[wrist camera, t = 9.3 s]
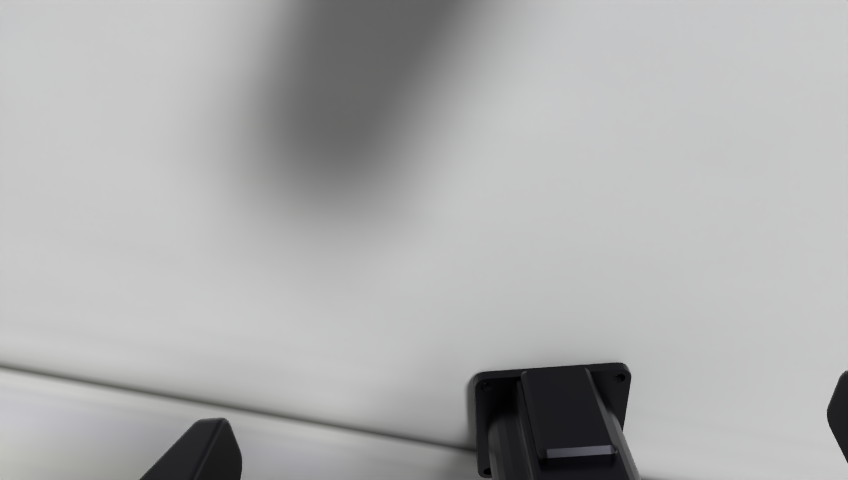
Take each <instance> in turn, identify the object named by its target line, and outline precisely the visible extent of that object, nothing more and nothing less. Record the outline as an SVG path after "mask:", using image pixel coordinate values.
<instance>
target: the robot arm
mask: <svg viewBox="0 0 848 480" xmlns="http://www.w3.org/2000/svg"><path fill="white" fill-rule="evenodd" d="M617 374H620V375H617ZM615 375H617V376H615ZM484 383H490V384H487V385H484ZM630 383H631V373H630V371H629V369H628V367H627V366H626V365H625V364H623V363H605V364H590V365H576V366H561V367H547V368H532V369H518V370H503V371H489V372H482V373H480V374H478V375H477V376H476V377H475V379H474V392H475V418H476V444H477V466H478V473H479V475H480V476H481V477H484V478H492V480H641V478H640V476H639V473H638V470H637V468H636V465H635V463H634V460H633V458H632V455H631V452H630V450H629V447H628V445H627V442H626V440H625V437H624V434H623V427H624V420H625V414H626V408H627V401H628V395H629V389H630ZM827 419H828V423H829V426H830V428H831V430H832V432H833V434H834V436H835V438H836V440H837V442H838V444H839V446H840V448H841V450H842V452H843V454H844V456H845V459H846V461H847V463H848V371H845V372H844V373H843V374H842V375H841V376H840V378H839V380H838V383H837V385H836V388H835V390H834V393H833V395H832V398H831V400H830V403H829V405H828V409H827ZM241 472H242V456H241V452H240V449H239V446H238V444H237V441H236V438H235V436H234V433H233V430H232V428H231V425H230V423H229V421H228V420H227V419H225V418H210V419H201V420H198V421H197V422H195V423H194V424H193V425H192V426H191V427H190V428H189V429H188V430H187V431H186V432H185V433H184V434H183V435H182V436H181V437H180V438H179V439H178V440H177V442H176V443H175V444H174V445H173V446H172V447H171V448H170V449H169V450H168V451H167V452H166V453H165V454H164V455H163V456H162V457H161V458H160V459H159V460H158V461H157V462H156V463H155V464H154V465H153V466H152V467H151V468H150V469H149V470H148V471H147V472H146V473H145V474H144V476H143V477H142V478H141V479H140V480H240V479H241Z"/></svg>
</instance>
